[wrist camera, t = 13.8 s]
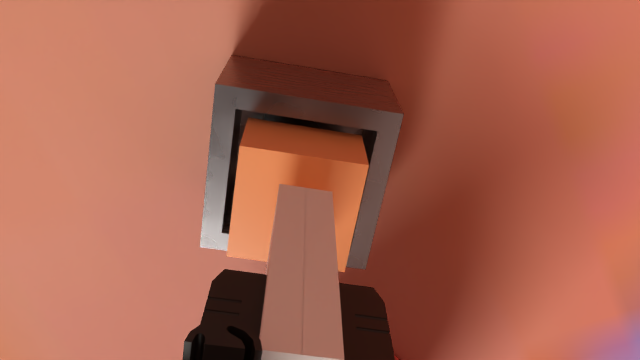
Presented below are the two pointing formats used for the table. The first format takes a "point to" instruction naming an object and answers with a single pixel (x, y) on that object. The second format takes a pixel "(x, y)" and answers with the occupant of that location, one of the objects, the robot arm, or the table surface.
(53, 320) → the table surface
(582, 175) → the table surface
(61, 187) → the table surface
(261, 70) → the button housing
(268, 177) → the button
